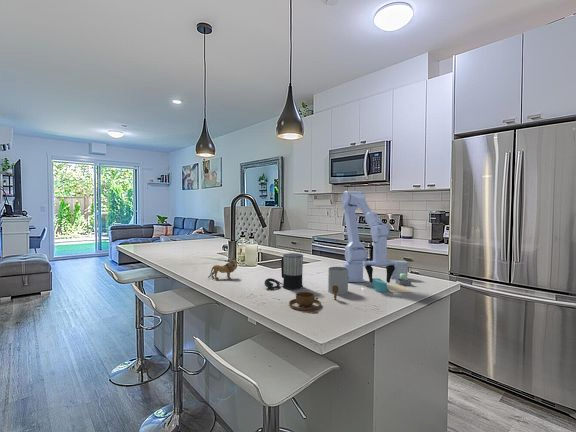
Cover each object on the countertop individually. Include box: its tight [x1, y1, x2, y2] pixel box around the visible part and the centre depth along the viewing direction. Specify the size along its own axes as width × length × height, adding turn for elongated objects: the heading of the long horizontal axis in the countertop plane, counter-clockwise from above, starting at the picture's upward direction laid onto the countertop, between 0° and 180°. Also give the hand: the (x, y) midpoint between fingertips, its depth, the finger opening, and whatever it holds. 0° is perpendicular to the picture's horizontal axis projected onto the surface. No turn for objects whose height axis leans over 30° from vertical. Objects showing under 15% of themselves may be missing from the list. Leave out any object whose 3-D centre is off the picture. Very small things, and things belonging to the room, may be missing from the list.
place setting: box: [288, 286, 338, 314], centre depth 120 cm, size 18×20×6 cm
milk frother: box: [264, 252, 304, 290], centre depth 145 cm, size 14×16×15 cm
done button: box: [400, 273, 408, 281], centre depth 152 cm, size 3×3×3 cm
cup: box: [327, 266, 349, 295], centre depth 139 cm, size 8×8×10 cm
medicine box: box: [390, 260, 409, 280], centre depth 164 cm, size 8×4×9 cm, turn 84°
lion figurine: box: [207, 259, 238, 280], centre depth 163 cm, size 15×5×9 cm, turn 103°
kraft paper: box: [387, 284, 412, 293], centre depth 144 cm, size 9×12×1 cm
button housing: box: [395, 278, 412, 286], centre depth 152 cm, size 5×5×2 cm
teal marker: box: [371, 277, 388, 293], centre depth 144 cm, size 3×11×4 cm, turn 5°
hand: (379, 282), depth 143 cm, fingers open, 7 cm apart
